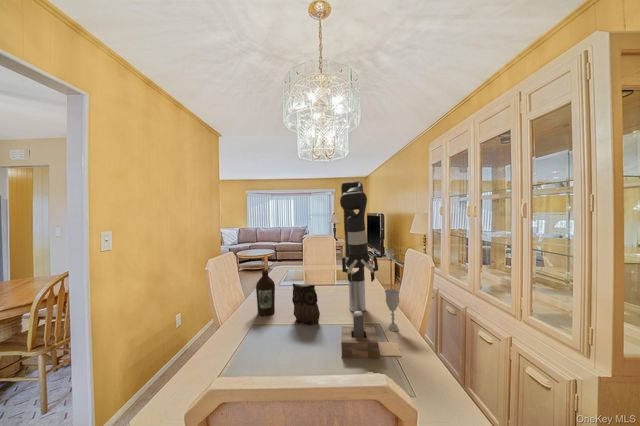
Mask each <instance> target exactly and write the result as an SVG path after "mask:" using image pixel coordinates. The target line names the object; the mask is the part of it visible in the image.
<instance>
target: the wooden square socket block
mask: <svg viewBox="0 0 640 426" xmlns="http://www.w3.org/2000/svg"><path fill="white" fill-rule="evenodd" d="M378 342H379V341H378V337H377V332H376V329H375V327H374V326H364V338H354V326H341V343H340V344H341V345H340V346H341V358H342V359H369V360H370V359H371V360H379V347H378Z"/></svg>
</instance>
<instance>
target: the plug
mask: <svg viewBox="0 0 640 426" xmlns="http://www.w3.org/2000/svg"><path fill="white" fill-rule="evenodd" d="M352 318H353V320H352V321H353V327H354V338H364V327H365V326H364V324H365V322H364V321H365V320H364V313H363V312H361V311H355V312H353V314H352Z"/></svg>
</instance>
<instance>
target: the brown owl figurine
mask: <svg viewBox="0 0 640 426" xmlns="http://www.w3.org/2000/svg"><path fill="white" fill-rule="evenodd" d="M315 287H316V285H315V284H308V283H295V282H293V283H292V288H293V289H292V301H291V302H292V303H293V316H294V317H295V320H294V322H295V323H296V324H298V325H307V326H313V325H318V324H319V323H320V322H319V321H320V316H321V313H320V310H319V304H318V295H317V292H316V289H315Z"/></svg>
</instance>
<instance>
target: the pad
mask: <svg viewBox="0 0 640 426" xmlns="http://www.w3.org/2000/svg"><path fill="white" fill-rule="evenodd" d="M378 353H379V355H380V356H379V357H397V358H398V357H399V358H401V357H402V354H401V351H400V348H399V345H398V343H397V342H390V341H389V342H387V341H386V342H384V341H383V342H382V341H378Z"/></svg>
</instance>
